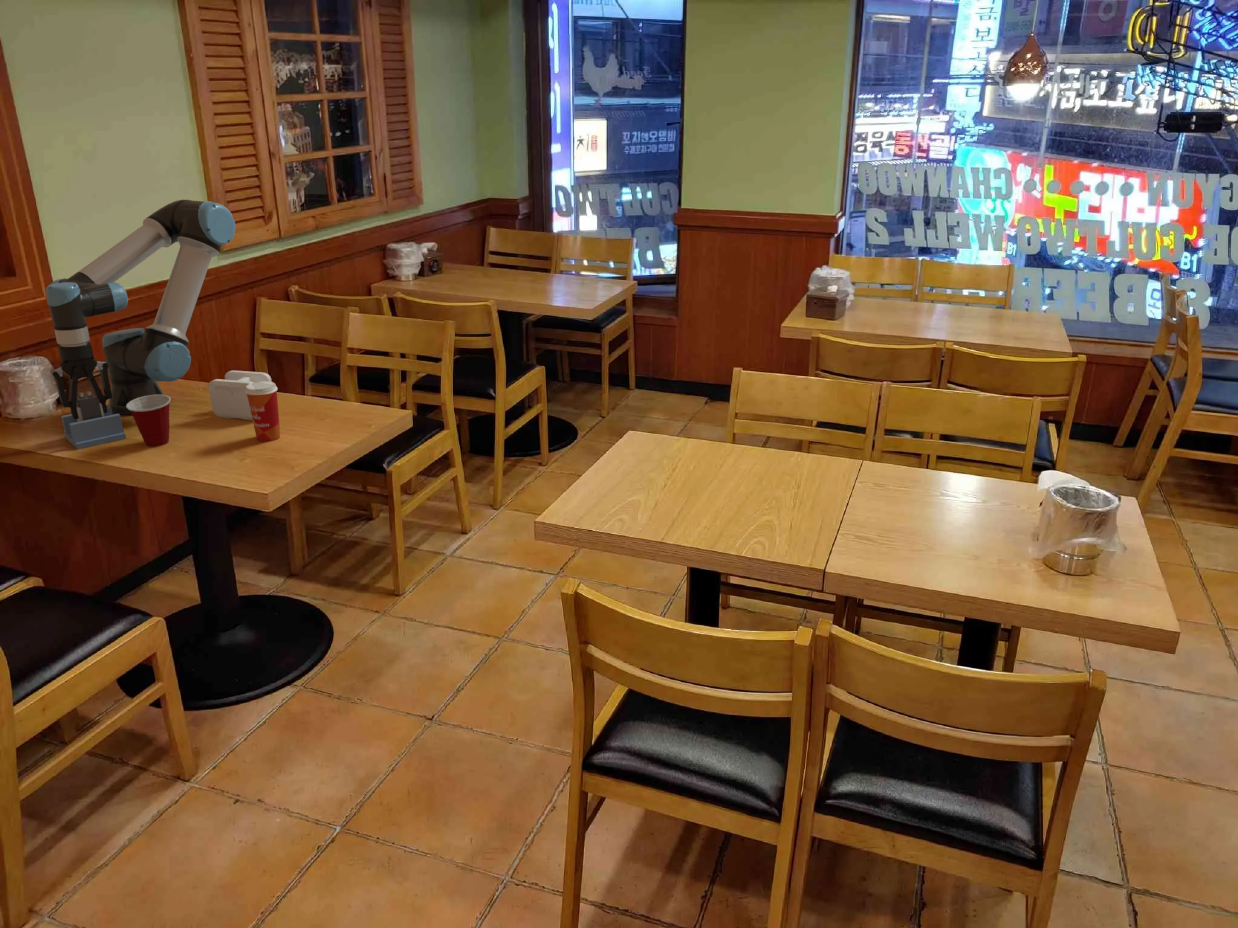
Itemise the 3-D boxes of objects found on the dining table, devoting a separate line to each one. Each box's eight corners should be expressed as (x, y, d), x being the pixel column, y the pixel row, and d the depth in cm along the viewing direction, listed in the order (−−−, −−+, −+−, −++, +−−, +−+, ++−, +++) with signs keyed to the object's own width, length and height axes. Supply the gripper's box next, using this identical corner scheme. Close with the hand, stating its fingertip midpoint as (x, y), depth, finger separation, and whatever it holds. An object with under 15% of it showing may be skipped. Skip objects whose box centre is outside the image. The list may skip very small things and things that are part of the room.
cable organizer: (278, 410, 272) (273, 372, 268) (259, 422, 262) (253, 383, 258) (233, 407, 275) (226, 369, 270) (211, 418, 265) (205, 380, 261)
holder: (112, 427, 258) (108, 405, 255) (126, 438, 250) (121, 416, 247) (65, 437, 250) (59, 415, 248) (77, 449, 242) (72, 426, 240)
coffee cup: (247, 437, 251) (238, 385, 245) (275, 430, 256) (267, 378, 251) (262, 445, 246) (253, 392, 240) (290, 437, 251) (283, 385, 245)
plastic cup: (125, 448, 243) (115, 405, 239) (153, 434, 253) (145, 393, 248) (160, 452, 241) (151, 409, 236) (187, 438, 250) (179, 396, 246)
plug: (99, 424, 252) (91, 388, 248) (104, 428, 249) (96, 392, 245) (81, 428, 249) (73, 392, 245) (86, 432, 246) (78, 396, 242)
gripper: (106, 335, 248) (123, 416, 257) (32, 346, 237) (52, 431, 246) (114, 340, 243) (132, 423, 252) (39, 352, 232) (60, 438, 241)
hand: (92, 427), depth 249 cm, fingers closed on plug, 4 cm apart
